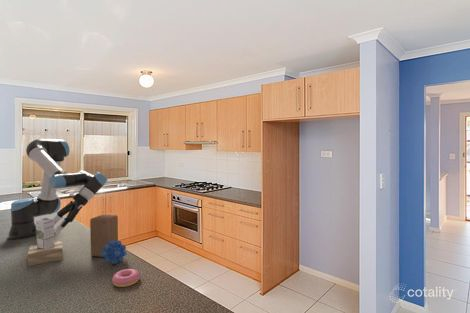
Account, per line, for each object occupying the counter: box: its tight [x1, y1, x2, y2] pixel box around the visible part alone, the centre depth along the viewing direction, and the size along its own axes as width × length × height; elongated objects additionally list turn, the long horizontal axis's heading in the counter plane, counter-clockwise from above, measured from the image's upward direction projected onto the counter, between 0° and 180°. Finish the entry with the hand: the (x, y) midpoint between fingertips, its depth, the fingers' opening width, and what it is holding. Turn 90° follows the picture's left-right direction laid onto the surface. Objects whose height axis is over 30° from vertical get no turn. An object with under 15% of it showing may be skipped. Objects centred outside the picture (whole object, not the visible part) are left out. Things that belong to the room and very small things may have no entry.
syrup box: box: [35, 217, 56, 249], centre depth 138 cm, size 6×6×14 cm
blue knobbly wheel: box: [102, 240, 127, 265], centre depth 130 cm, size 12×7×12 cm, turn 135°
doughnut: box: [111, 268, 141, 288], centre depth 113 cm, size 11×11×4 cm
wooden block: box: [89, 214, 119, 258], centre depth 143 cm, size 10×10×20 cm
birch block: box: [27, 240, 64, 267], centre depth 138 cm, size 14×14×6 cm
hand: (52, 229), depth 140 cm, fingers open, 13 cm apart
